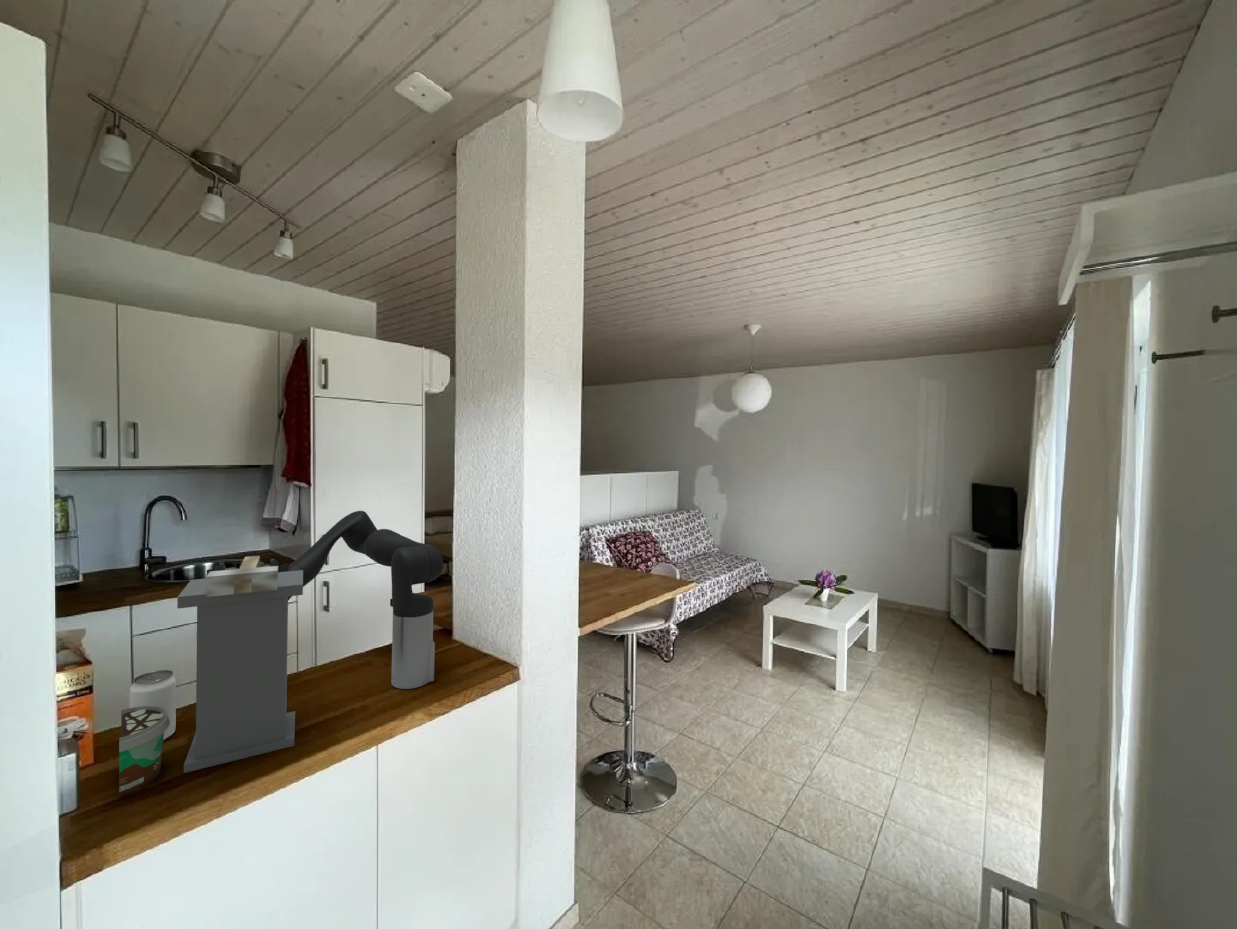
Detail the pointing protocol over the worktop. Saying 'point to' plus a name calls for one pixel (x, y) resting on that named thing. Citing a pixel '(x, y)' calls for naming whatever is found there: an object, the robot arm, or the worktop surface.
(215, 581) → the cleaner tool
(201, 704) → the stand
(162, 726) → the food container
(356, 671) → the worktop surface
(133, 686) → the can
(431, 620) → the robot arm
